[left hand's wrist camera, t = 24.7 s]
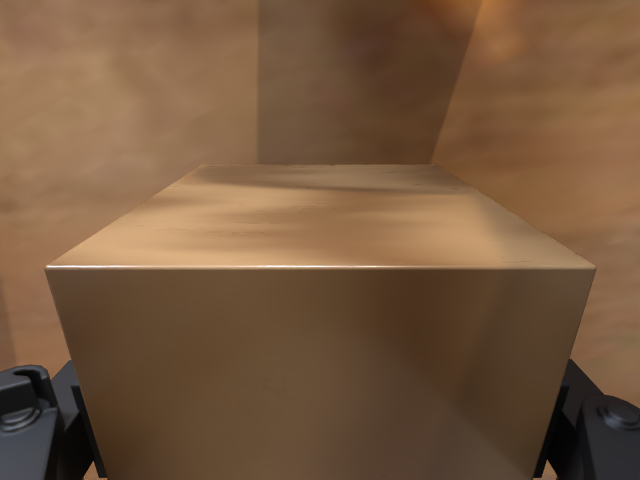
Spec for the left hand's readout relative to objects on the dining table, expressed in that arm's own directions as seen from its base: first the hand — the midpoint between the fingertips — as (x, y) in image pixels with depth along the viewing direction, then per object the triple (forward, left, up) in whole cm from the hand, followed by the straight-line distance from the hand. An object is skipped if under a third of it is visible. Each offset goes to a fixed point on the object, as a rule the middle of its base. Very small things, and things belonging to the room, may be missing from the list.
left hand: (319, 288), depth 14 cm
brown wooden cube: (0, 0, -1) cm, 1 cm away
